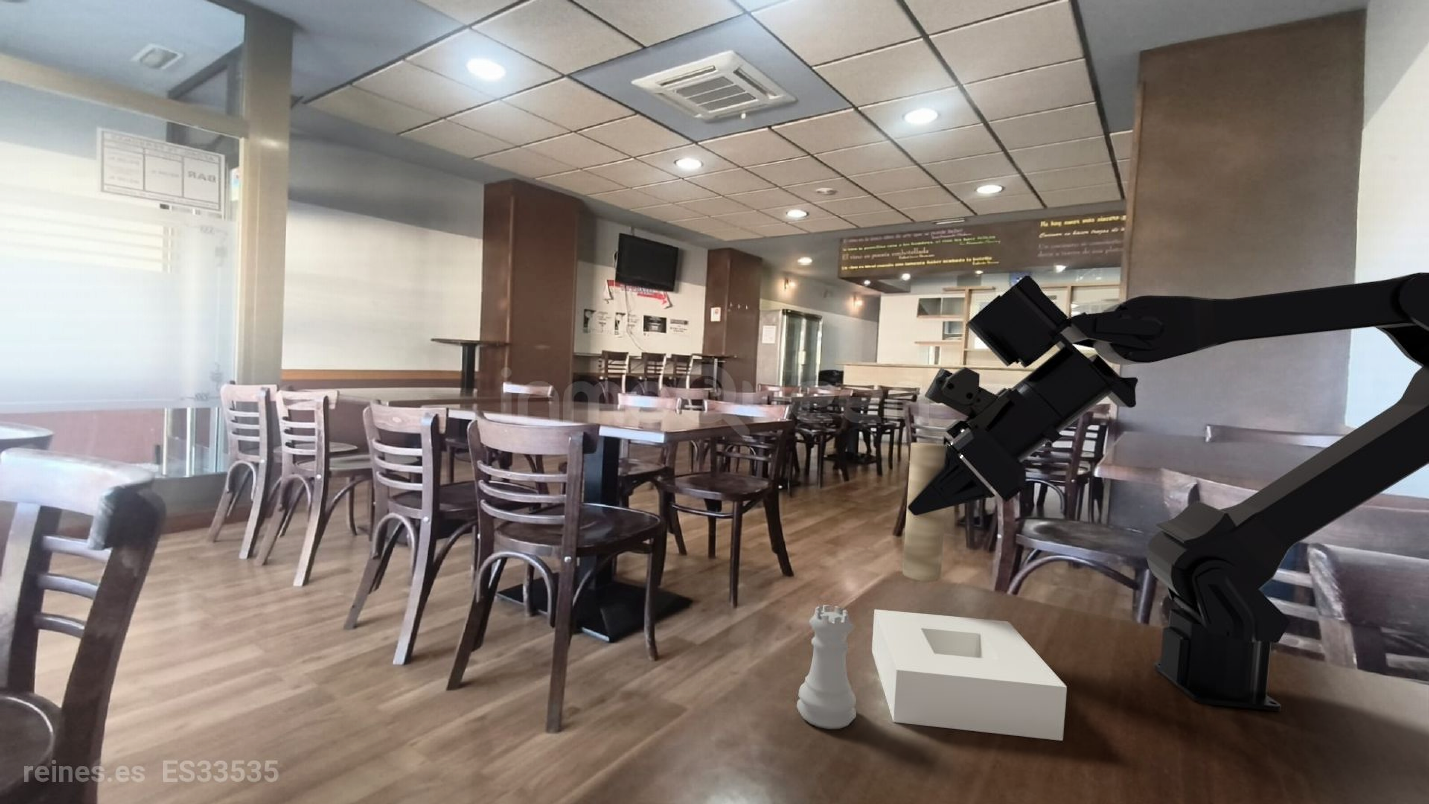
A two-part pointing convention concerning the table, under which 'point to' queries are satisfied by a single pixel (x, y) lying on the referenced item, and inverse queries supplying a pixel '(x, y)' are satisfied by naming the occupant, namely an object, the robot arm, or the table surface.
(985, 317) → the robot arm
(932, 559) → the peg
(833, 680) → the rook chess piece
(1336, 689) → the table surface
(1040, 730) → the block
